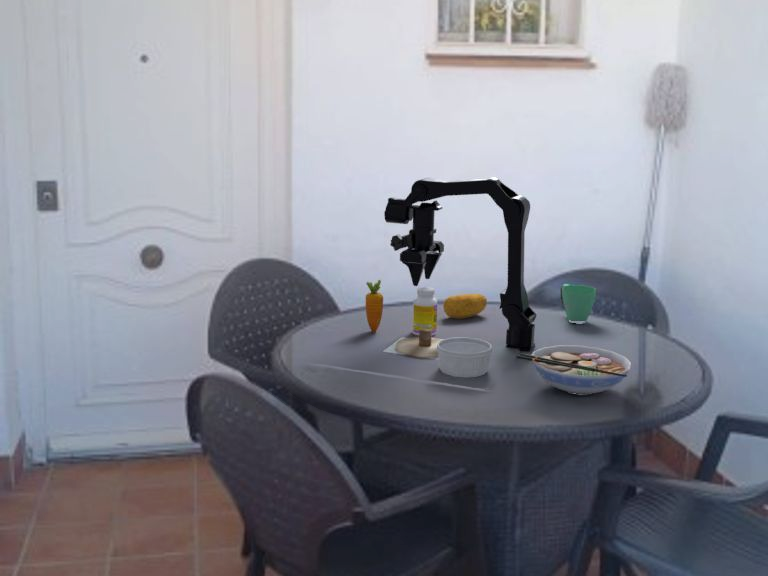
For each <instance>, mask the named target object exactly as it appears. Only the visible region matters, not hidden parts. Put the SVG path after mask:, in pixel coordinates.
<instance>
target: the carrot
mask: <svg viewBox="0 0 768 576" xmlns="http://www.w3.org/2000/svg"><path fill="white" fill-rule="evenodd" d="M381 282H382V280H381V279H378V280H377V282H375V283H374V284H373V282H372V281H370V282H369V281H367V282H366V285H367V287H368V289H369V290H370V292H368V293H367V294H366V295H365V314H366V321H367V323H368V327H369V330H370V331H371V332H372V333H376V332H377V331H378V328H379V327H380V324H381V321H382V316H383V308H384V296H383V294H381V292H378V291H379V290H380V288H381Z"/></svg>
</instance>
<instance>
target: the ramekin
mask: <svg viewBox="0 0 768 576" xmlns="http://www.w3.org/2000/svg"><path fill="white" fill-rule="evenodd" d="M437 351H438V359H439V360H438V367H439V370H440V371H441V372H442V373H443V374H445V375H448V376H451V377H455V378H465V379H466V378H467V379H469V378H476V377H481V376H484V375H485V374H486V373H487V372H488V370H489V365H490V360H491V355H492V352H493V345H492V344H491V343H490V342H488V341H486V340H484V339H480V338H475V337H468V336H467V337H465V336H461V337H459V336H458V337H449V338H445V339H443V340H441V341H439V342H438V344H437Z"/></svg>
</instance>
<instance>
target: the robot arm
mask: <svg viewBox="0 0 768 576" xmlns="http://www.w3.org/2000/svg"><path fill="white" fill-rule="evenodd" d="M467 195H468V196H470V195H488V196H489V197H490V198H491V199H492V200H493V202H494V203H495V204H496V206H498V207H499V208H500V209H501V210H502V214H503V221H504V225H505V227H506V231H507V284H506V285H507V286H506V288H505V289H503V291H501V292H500V293H499V298H500V306H499V307H498V308H499V309H501V313H502V316H503V317H504V318H505V319H507V323H508V328H507V329H506V336H505V337H506V338H505V344H506V346H505V347H506V348H508V349H509V348H510V349H516V350H519V351H526V352H531V351H532V349H533V348H534V347H535V345H536V343H535V342H534V341H535V329H536V327H535V326H536V324H535V323H534V322H535V320H536V317H537V314H536V312H535V311H534V310H533V309H532V308H531V306H529V305H530V304H529V297H528V292H527V289H526V287H525V278H524V277H525V232H526V227H527V224H528V221H529V216H530V211H531V203H530V200H528V198H527V197H525V196H523V195H519V194H518V193H517V192H516V191H514V190H513V189H512V188H510V187H508V186H507V185H506V184H504V182H502V181H501V180H500V179H499V178H497V177H491V178H480V179H461V180H460V179H459V180H458V179H457V180H444V179H439V178H434V177H433V178H432V177H425V178H422V179H418V180H416V181H415V182H413V184H412V186H411V189H410V193H409V194H408V195H407V196H406V198H398V197H389V198H387V204H386V206H385V210H384V213H383V214H384V215H383V216H384V220H385V222H386V223H390V224H398V225H399V224H401V225H409V222H411V221H412V228H411V229H409V230H408V234H405V235H402V236H401V234H396V235H392V237H391V240H390V247H392V248H393V250H394V252H396V251H399V250H401V249H404V250H402V251H401V252H400V253H399V261H400V262H401V263H402V264H403V265H405V266H406V267H407V268H408V270H409V274H410V277H411V282H412V285H413V286H414V287H418V286H419V283H420V281H421V278H422V275H423V272H424V279H425V280H429V279H430V278H431V276H432V274H433V272H434V270H435V269H436V266H437V264H438V262H439V260H440V258H441V256H442V255H443V252H444V251H445V244H444V243H443V242H442V241H441V240H434V237H435V234H436V233H437V228H435V211H440V210H442V209H443V206H442V205H441V204H440V203H439V202H438V200H436V199H439V198H443V197H448V196H449V197H451V196H467ZM432 200H434V201H433V202H427V201H432ZM417 203H420V205H418V204H417ZM405 248H406V249H405ZM430 280H431V279H430Z"/></svg>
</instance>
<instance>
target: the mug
mask: <svg viewBox="0 0 768 576" xmlns="http://www.w3.org/2000/svg"><path fill="white" fill-rule="evenodd" d="M597 290H598V289H596V288H595V287H592V286H589V285H581V284H568V283H564V284H562V285H561V288H560V299H561V303H562V307H563V309H564V311H565V315H566V318H567V321H568V320H571V321H586V320H587V321H588V318H589V317H590V315H591V312H592V310H593V307H594V303H595V299H596V296H597ZM587 321H586V322H587Z"/></svg>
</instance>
